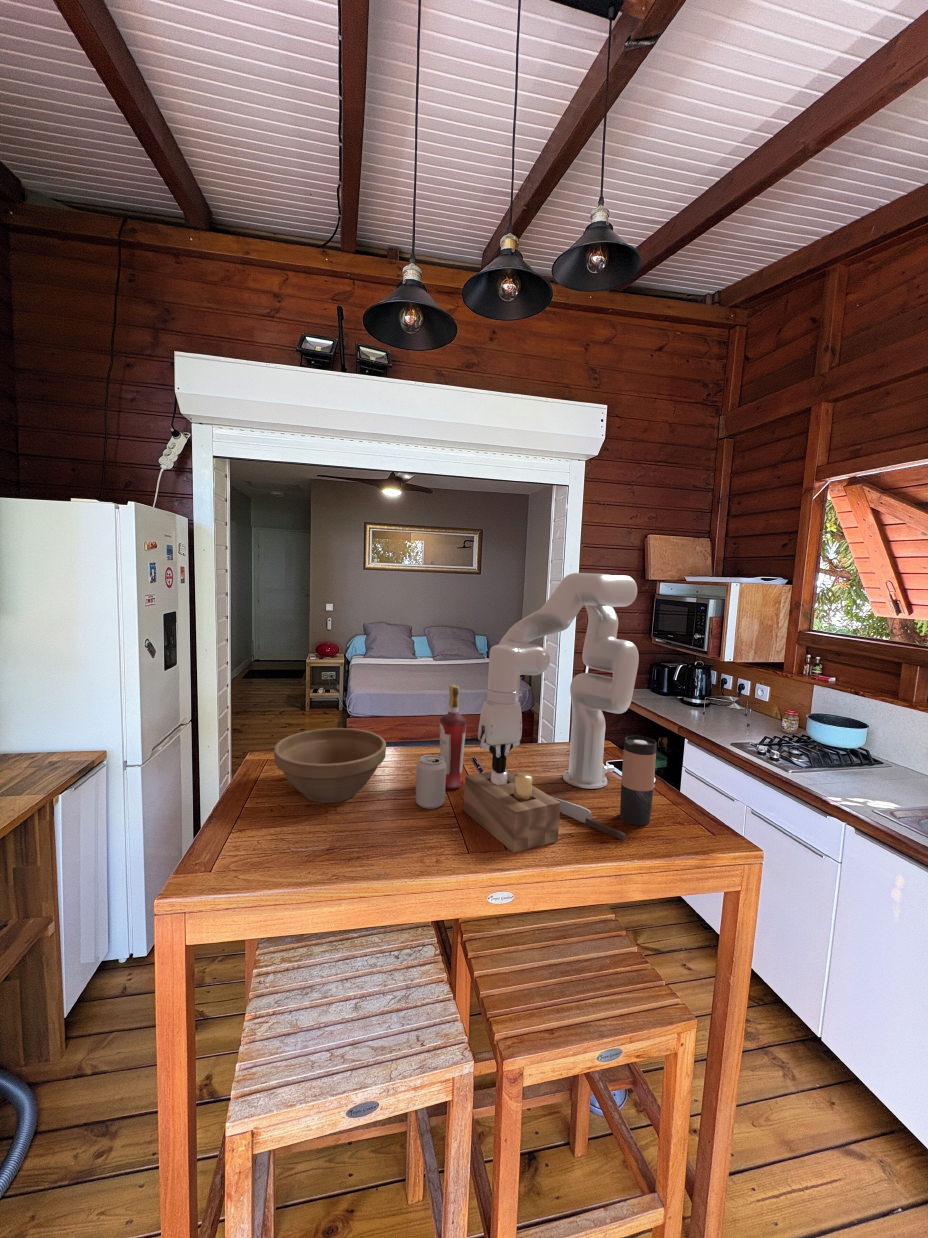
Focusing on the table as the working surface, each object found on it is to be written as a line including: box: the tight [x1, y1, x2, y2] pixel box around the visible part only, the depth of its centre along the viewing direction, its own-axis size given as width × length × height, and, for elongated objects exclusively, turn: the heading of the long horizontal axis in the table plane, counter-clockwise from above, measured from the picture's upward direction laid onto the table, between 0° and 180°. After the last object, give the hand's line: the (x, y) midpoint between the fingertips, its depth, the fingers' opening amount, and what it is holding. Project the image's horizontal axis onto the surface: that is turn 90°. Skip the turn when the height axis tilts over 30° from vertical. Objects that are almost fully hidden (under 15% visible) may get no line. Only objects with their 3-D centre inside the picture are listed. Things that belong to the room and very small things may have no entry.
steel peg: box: [490, 768, 508, 786], centre depth 131 cm, size 4×4×8 cm
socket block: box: [463, 768, 561, 854], centre depth 127 cm, size 12×22×9 cm, turn 29°
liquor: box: [439, 685, 467, 790], centre depth 148 cm, size 7×7×28 cm
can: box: [415, 754, 446, 810], centre depth 137 cm, size 8×8×12 cm
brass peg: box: [514, 771, 534, 802], centre depth 122 cm, size 4×4×8 cm
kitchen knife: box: [549, 795, 627, 841], centre depth 134 cm, size 4×1×30 cm
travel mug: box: [619, 735, 657, 826], centre depth 133 cm, size 8×8×20 cm
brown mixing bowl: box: [273, 727, 387, 804], centre depth 141 cm, size 28×28×13 cm
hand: (498, 771), depth 131 cm, fingers closed
